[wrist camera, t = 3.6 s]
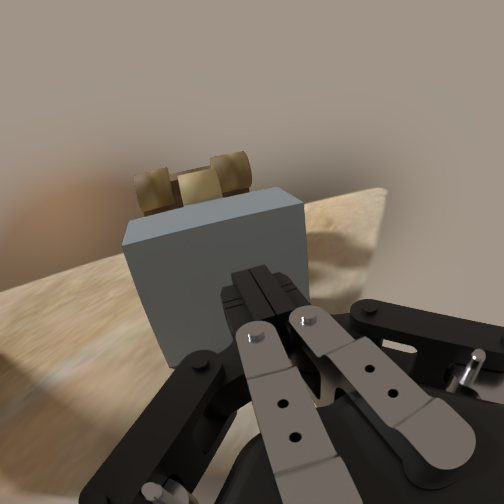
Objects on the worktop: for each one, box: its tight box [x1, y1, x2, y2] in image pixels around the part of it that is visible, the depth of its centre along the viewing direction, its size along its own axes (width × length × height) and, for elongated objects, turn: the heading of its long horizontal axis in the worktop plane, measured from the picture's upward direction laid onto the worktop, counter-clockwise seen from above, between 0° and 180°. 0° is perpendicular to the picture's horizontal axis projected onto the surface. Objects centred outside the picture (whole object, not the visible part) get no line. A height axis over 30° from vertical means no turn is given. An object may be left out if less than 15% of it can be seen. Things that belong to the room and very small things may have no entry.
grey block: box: [122, 168, 310, 368], centre depth 21 cm, size 10×8×11 cm
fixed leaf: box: [134, 151, 252, 217], centre depth 30 cm, size 10×8×11 cm
